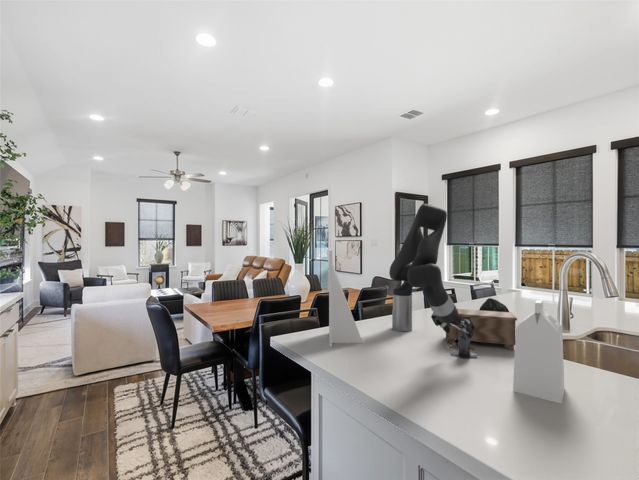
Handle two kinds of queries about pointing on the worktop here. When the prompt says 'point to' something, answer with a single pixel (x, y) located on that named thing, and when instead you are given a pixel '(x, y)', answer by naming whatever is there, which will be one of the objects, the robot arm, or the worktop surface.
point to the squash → (493, 306)
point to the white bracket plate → (340, 312)
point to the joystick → (463, 347)
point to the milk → (539, 356)
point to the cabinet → (488, 327)
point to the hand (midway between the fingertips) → (459, 333)
